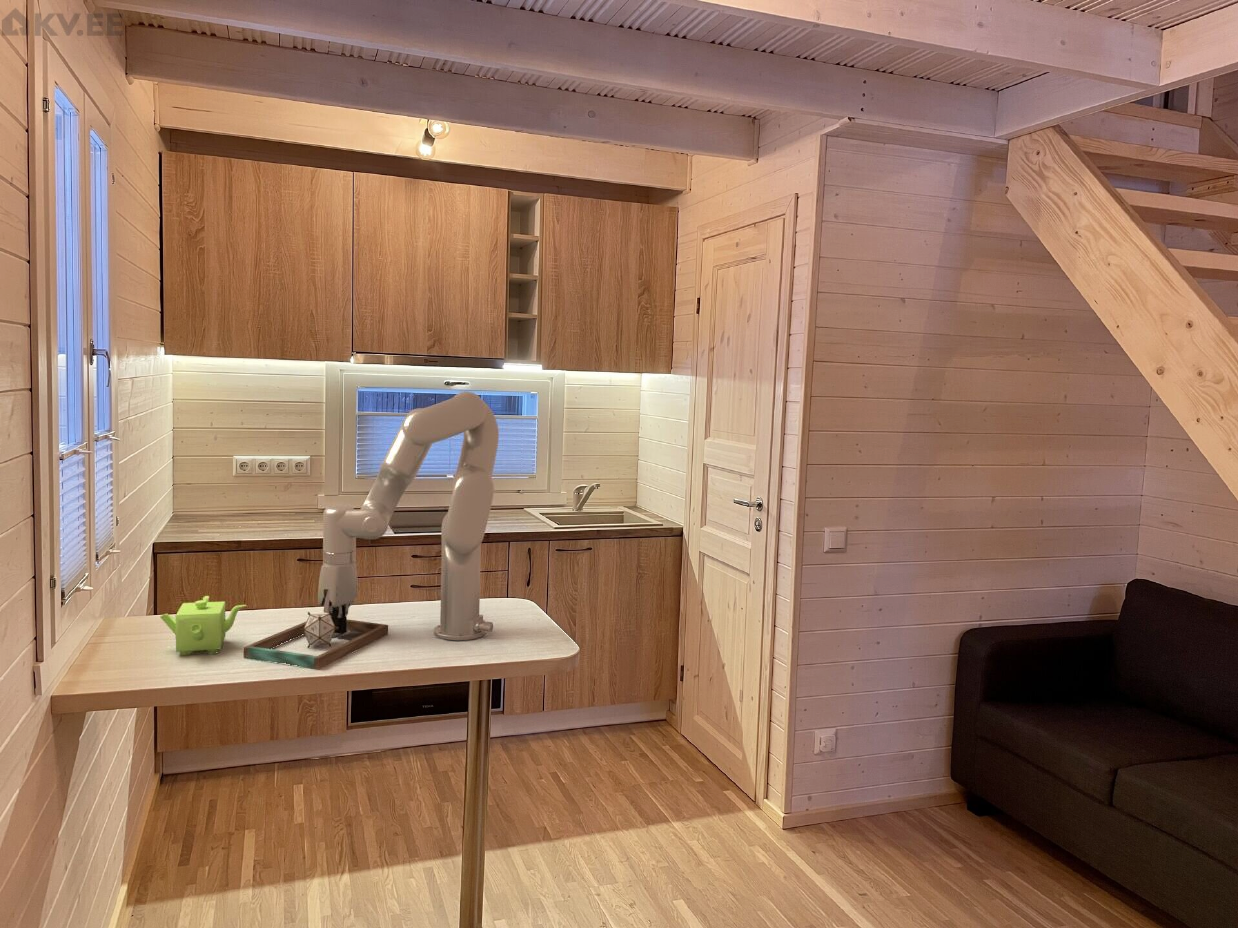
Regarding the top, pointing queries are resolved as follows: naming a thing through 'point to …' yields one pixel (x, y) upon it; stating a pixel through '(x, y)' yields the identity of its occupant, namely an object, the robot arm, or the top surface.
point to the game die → (319, 629)
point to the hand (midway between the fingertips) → (338, 632)
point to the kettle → (200, 625)
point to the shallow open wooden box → (358, 637)
